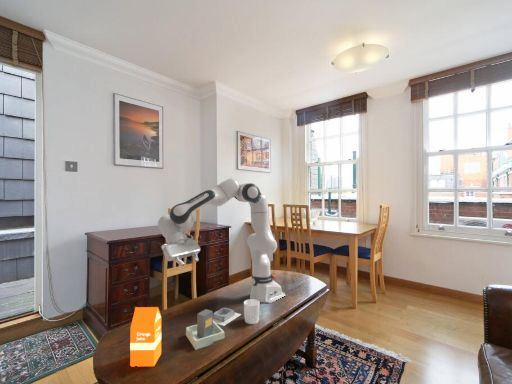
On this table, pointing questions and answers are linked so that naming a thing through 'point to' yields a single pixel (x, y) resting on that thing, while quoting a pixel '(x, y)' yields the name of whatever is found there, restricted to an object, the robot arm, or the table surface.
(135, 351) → the orange juice
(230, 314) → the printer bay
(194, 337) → the sage tray
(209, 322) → the gray rectangular block
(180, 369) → the table surface
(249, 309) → the white cup
